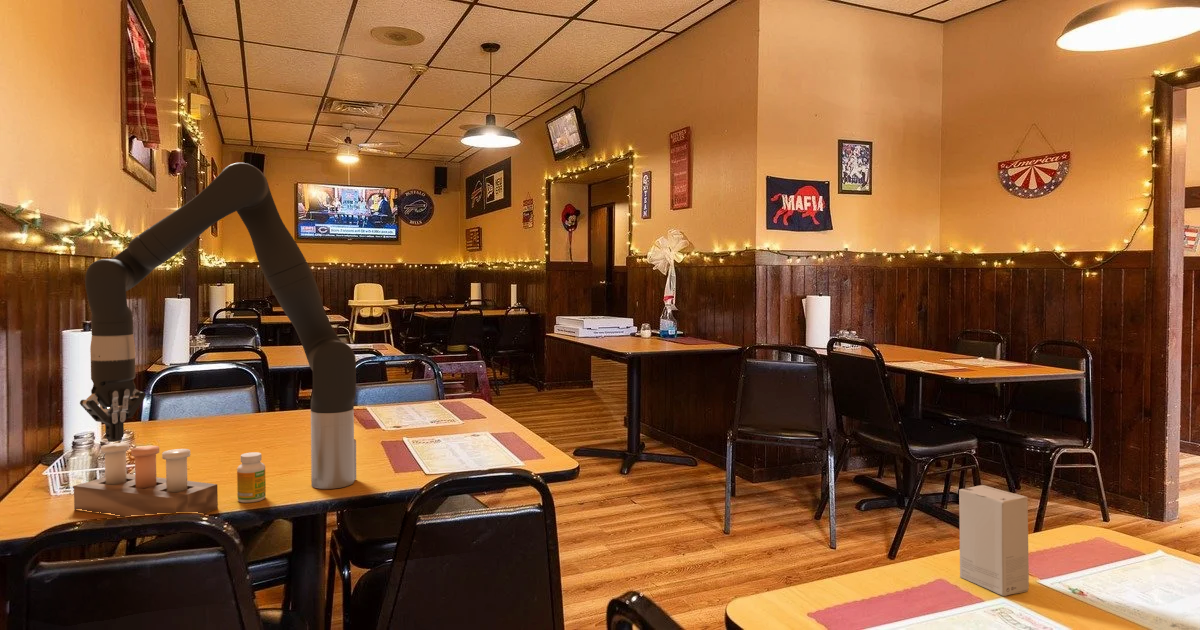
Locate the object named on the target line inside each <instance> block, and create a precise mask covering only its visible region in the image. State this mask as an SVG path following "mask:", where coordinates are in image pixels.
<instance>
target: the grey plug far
mask: <svg viewBox="0 0 1200 630" xmlns="http://www.w3.org/2000/svg"><path fill="white" fill-rule="evenodd" d="M129 450H130V443H129V442H116V443H115V442H112V443H108V444H104V445H101V446H100V452H101V453H103V454H104V471H105V473H104V474H105V475H104V477H105V484H107V485H117V484H121V483H124V482H127V474H128V473H127V451H129Z"/></svg>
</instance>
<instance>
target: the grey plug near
mask: <svg viewBox="0 0 1200 630" xmlns="http://www.w3.org/2000/svg"><path fill="white" fill-rule="evenodd" d="M189 457H191V449H189V448H176V449H174V448H173V449H169V450H164V451H163V452H162V453H161V459H162V460H165V474H166V476H165V478H166V488H167V492H172V493H178V492H181V491H184V490H187V489H188V486H187V481H188V458H189Z"/></svg>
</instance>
